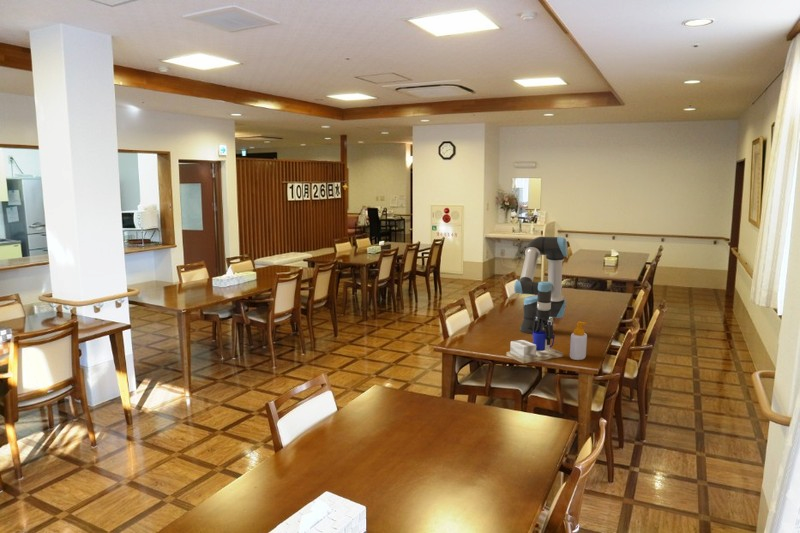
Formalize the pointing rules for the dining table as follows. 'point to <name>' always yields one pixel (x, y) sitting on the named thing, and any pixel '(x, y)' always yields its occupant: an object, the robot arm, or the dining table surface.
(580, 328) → the soap bottle
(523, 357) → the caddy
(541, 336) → the mug
